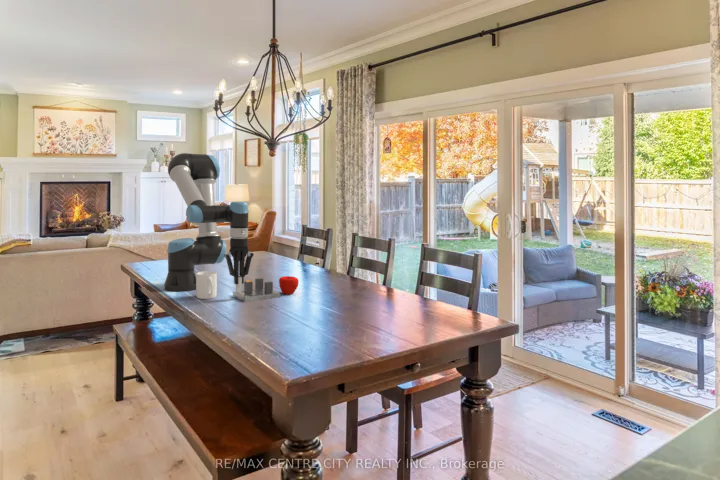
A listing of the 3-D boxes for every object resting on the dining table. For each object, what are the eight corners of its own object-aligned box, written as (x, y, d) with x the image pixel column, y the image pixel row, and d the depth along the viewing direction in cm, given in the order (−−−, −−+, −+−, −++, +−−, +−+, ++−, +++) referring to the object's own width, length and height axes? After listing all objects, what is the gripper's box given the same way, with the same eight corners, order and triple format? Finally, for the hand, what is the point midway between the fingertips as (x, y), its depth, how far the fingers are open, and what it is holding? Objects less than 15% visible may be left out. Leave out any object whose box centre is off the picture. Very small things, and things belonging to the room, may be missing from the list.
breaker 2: (264, 292, 216) (264, 281, 216) (270, 292, 218) (270, 281, 218) (266, 293, 215) (266, 282, 214) (272, 293, 217) (272, 282, 216)
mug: (201, 301, 206) (201, 276, 205) (193, 296, 216) (193, 272, 215) (221, 299, 211) (221, 275, 209) (213, 294, 220) (213, 270, 219)
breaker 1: (255, 289, 223) (255, 278, 223) (261, 288, 225) (261, 277, 225) (257, 290, 222) (257, 279, 221) (263, 289, 224) (263, 278, 223)
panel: (233, 296, 217) (233, 291, 217) (267, 292, 228) (267, 287, 228) (244, 301, 208) (244, 297, 208) (280, 297, 219) (280, 292, 218)
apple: (301, 292, 229) (302, 276, 228) (291, 296, 221) (291, 279, 220) (285, 290, 233) (286, 274, 232) (275, 294, 225) (275, 277, 224)
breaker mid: (244, 292, 215) (244, 280, 214) (250, 292, 217) (250, 280, 216) (246, 293, 214) (246, 281, 213) (252, 293, 215) (252, 281, 215)
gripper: (228, 239, 203) (228, 294, 205) (256, 237, 211) (256, 291, 213) (221, 237, 209) (221, 291, 211) (249, 236, 217) (249, 288, 219)
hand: (238, 291), depth 212 cm, fingers closed
